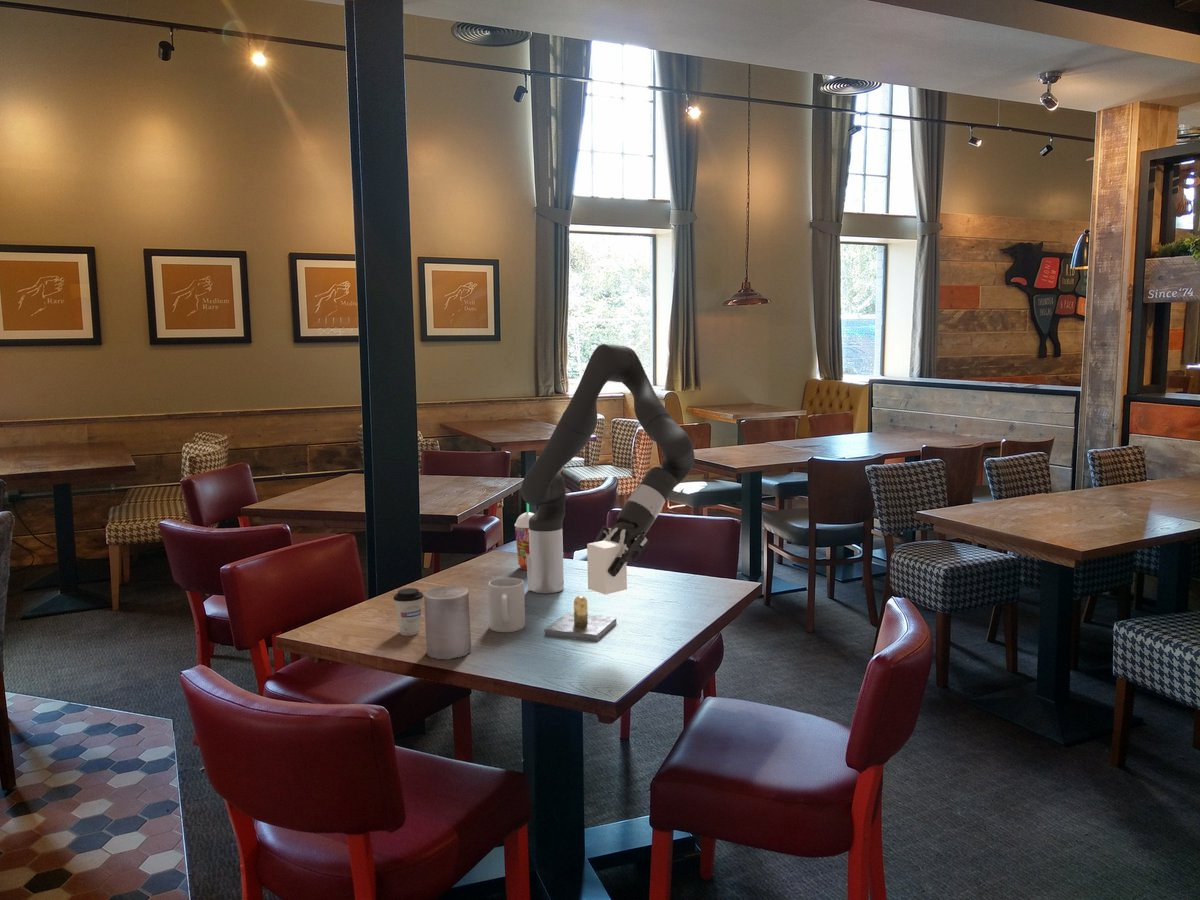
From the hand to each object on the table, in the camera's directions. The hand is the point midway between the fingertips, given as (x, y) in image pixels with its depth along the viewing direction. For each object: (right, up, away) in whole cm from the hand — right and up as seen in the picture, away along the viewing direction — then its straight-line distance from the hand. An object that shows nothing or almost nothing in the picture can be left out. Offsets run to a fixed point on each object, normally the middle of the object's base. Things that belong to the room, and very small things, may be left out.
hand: (601, 571), depth 181 cm
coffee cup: (-45, -17, +18) cm, 51 cm away
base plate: (-5, -16, +17) cm, 24 cm away
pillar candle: (-33, -19, +4) cm, 38 cm away
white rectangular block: (+1, -4, +2) cm, 5 cm away
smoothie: (-22, -10, +76) cm, 80 cm away
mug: (-22, -17, +19) cm, 34 cm away
